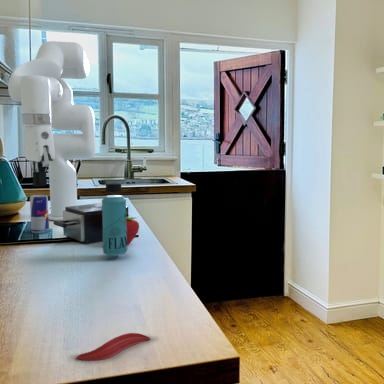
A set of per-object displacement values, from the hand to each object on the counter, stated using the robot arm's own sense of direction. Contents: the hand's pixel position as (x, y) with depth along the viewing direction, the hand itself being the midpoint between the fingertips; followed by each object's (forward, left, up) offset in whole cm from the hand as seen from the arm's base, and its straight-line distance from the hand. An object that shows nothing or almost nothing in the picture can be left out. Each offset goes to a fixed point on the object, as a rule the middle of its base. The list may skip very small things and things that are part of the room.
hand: (40, 185), depth 137 cm
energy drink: (-18, +7, -18) cm, 26 cm away
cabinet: (+1, +17, -18) cm, 25 cm away
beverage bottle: (+26, +8, -18) cm, 32 cm away
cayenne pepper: (+72, -20, -18) cm, 77 cm away
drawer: (+1, +13, -17) cm, 21 cm away
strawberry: (+16, +18, -18) cm, 30 cm away
